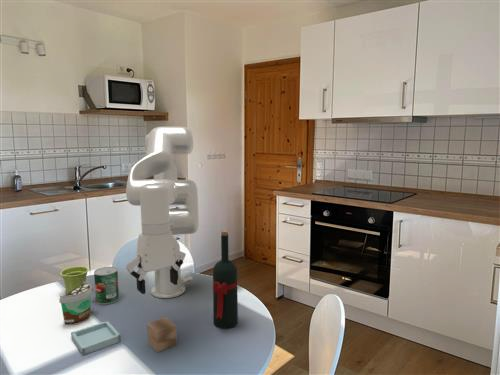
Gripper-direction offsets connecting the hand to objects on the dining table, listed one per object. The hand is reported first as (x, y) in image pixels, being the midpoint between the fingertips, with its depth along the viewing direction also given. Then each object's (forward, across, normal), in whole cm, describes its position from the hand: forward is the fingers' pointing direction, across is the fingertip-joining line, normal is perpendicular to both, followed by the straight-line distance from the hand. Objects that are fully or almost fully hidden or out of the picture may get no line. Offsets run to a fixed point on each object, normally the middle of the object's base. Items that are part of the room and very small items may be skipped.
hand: (158, 287), depth 107 cm
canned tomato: (+17, +2, -38) cm, 42 cm away
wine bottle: (+17, -20, +3) cm, 27 cm away
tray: (+17, +14, -14) cm, 26 cm away
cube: (+17, 0, 0) cm, 17 cm away
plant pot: (+17, +9, -51) cm, 54 cm away
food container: (+17, +13, -30) cm, 37 cm away
